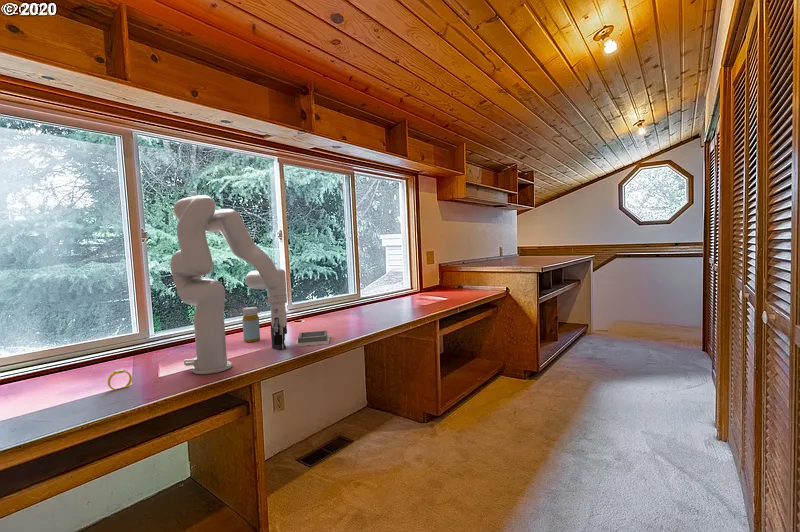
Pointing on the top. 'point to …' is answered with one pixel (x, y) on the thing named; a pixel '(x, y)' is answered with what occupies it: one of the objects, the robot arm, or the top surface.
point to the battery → (283, 332)
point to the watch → (117, 373)
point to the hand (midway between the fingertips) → (279, 342)
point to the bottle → (251, 324)
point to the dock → (312, 338)
